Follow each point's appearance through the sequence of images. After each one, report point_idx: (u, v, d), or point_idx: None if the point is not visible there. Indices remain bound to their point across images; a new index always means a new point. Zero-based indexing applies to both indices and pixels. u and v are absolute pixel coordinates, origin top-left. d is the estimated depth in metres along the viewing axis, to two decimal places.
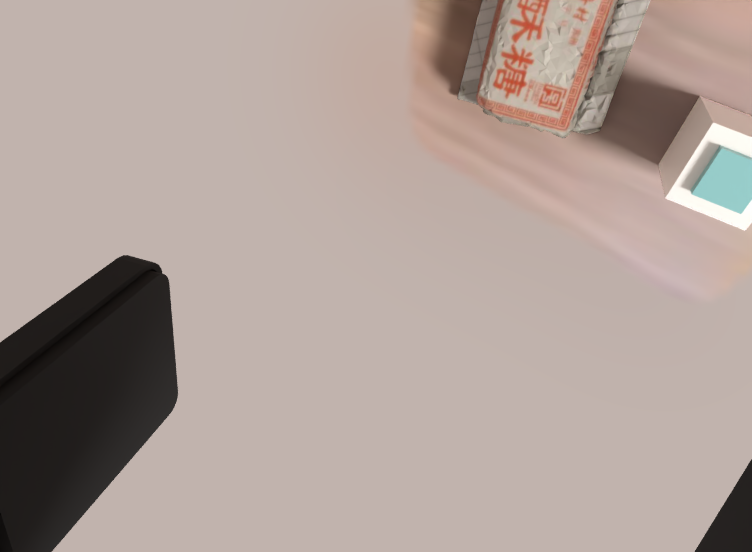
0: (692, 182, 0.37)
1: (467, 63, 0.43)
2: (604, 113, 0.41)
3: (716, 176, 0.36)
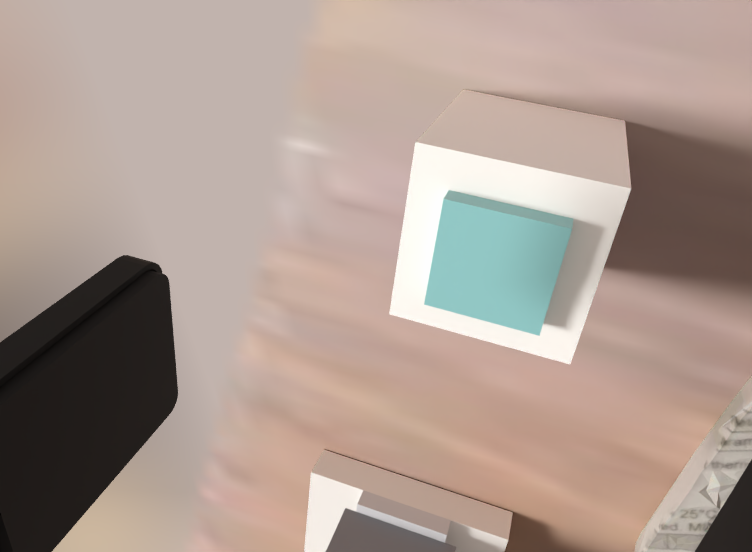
0: (574, 240, 0.15)
1: None
2: None
3: (528, 278, 0.15)
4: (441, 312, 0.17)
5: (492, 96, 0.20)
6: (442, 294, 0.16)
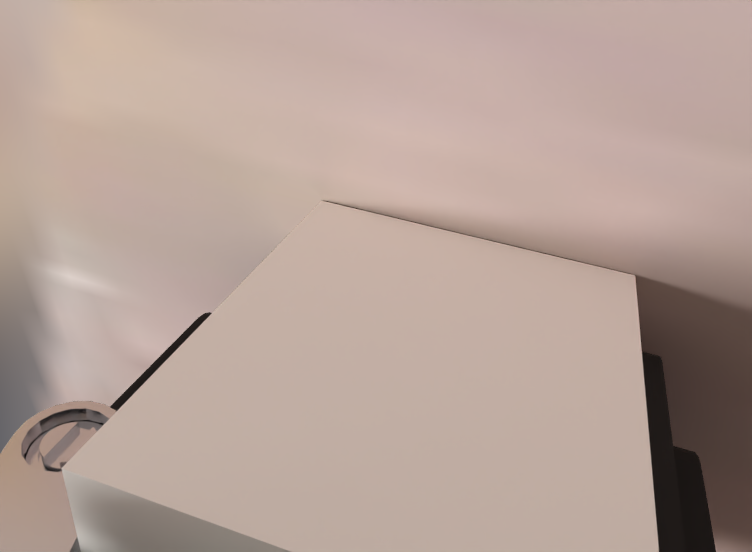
0: None
1: None
2: None
3: None
4: None
5: (373, 219, 0.10)
6: None
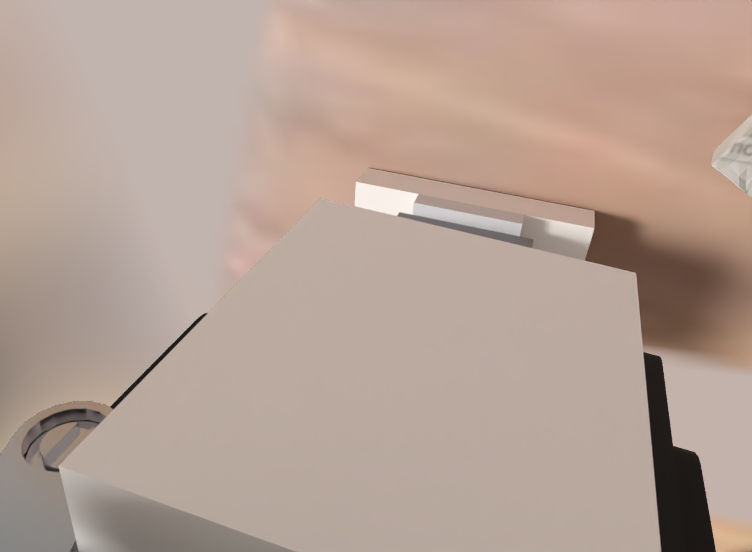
0: None
1: None
2: None
3: None
4: None
5: (373, 217, 0.10)
6: None
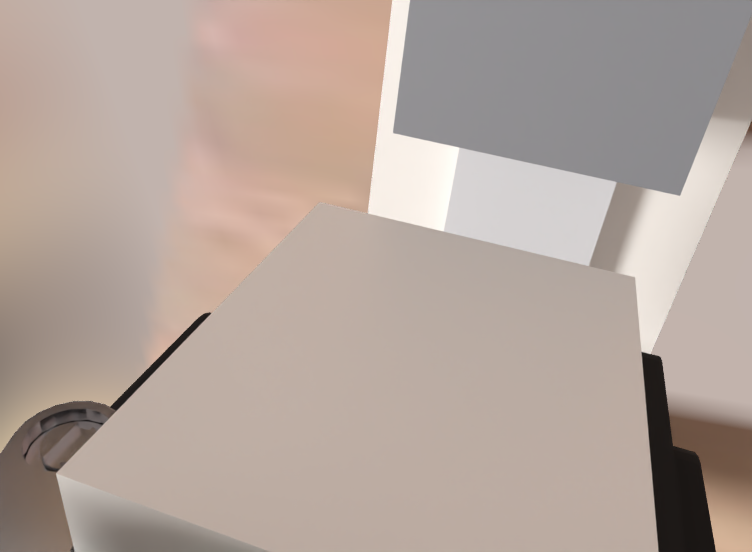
0: None
1: None
2: None
3: None
4: None
5: (371, 221, 0.10)
6: None
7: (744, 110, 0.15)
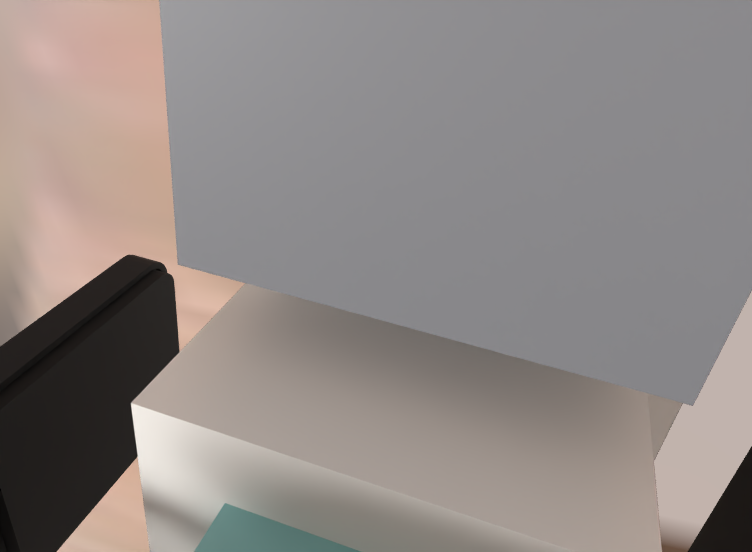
0: None
1: None
2: None
3: None
4: None
5: None
6: None
7: None
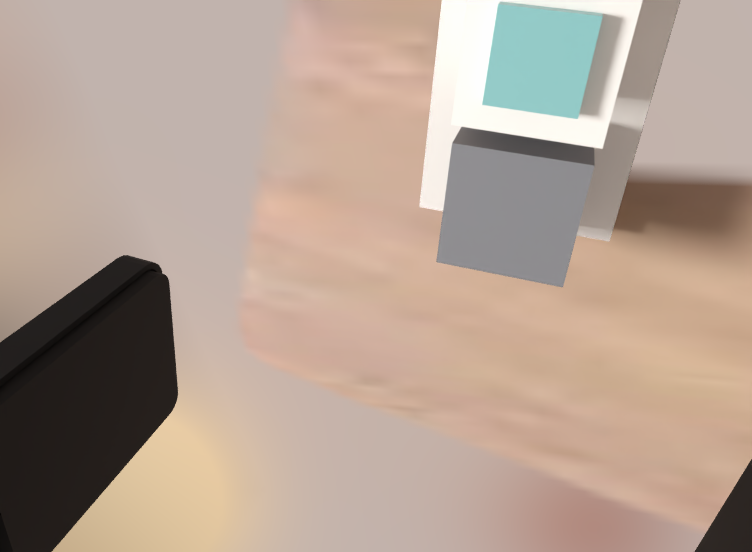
0: (603, 32, 0.19)
1: None
2: None
3: (568, 67, 0.19)
4: (494, 116, 0.21)
5: None
6: (497, 93, 0.20)
7: None
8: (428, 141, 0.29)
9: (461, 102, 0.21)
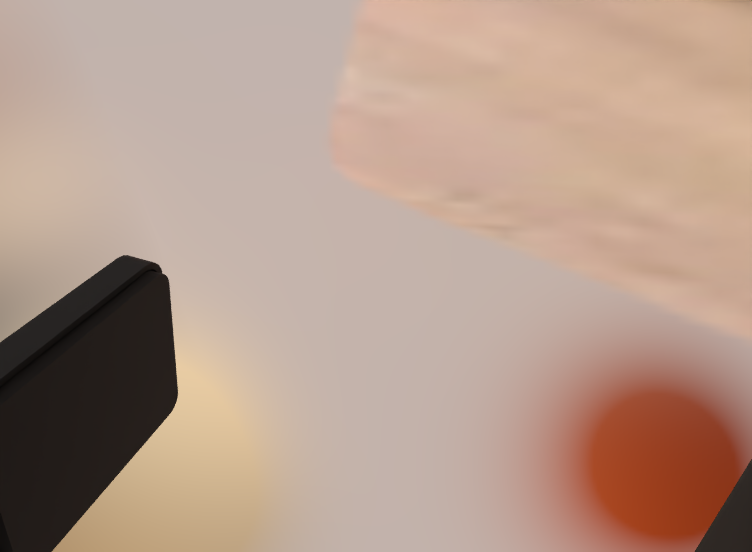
0: None
1: None
2: None
3: None
4: None
5: None
6: None
7: None
8: None
9: None
